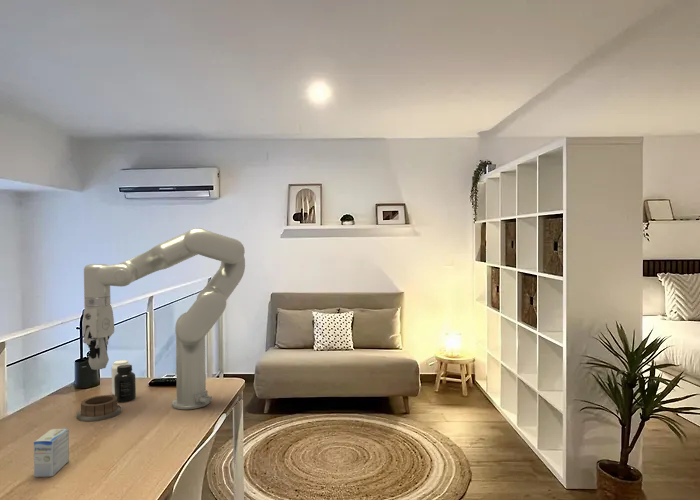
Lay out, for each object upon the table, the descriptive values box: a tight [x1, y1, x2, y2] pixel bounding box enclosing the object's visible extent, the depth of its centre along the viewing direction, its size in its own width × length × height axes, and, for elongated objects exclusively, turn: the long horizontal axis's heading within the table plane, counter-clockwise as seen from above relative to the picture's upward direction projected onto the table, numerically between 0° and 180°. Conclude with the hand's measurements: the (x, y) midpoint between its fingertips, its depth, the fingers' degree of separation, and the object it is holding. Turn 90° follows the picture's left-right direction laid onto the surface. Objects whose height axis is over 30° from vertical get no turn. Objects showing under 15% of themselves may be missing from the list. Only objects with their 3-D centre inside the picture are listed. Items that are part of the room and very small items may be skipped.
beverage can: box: [111, 359, 131, 396], centre depth 177 cm, size 6×6×12 cm
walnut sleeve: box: [76, 394, 123, 423], centre depth 157 cm, size 13×13×4 cm
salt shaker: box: [88, 337, 109, 371], centre depth 156 cm, size 6×6×13 cm
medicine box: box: [33, 428, 70, 478], centre depth 119 cm, size 8×4×9 cm, turn 5°
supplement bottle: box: [114, 364, 137, 403], centre depth 171 cm, size 7×7×12 cm
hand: (98, 358), depth 156 cm, fingers closed on salt shaker, 3 cm apart
